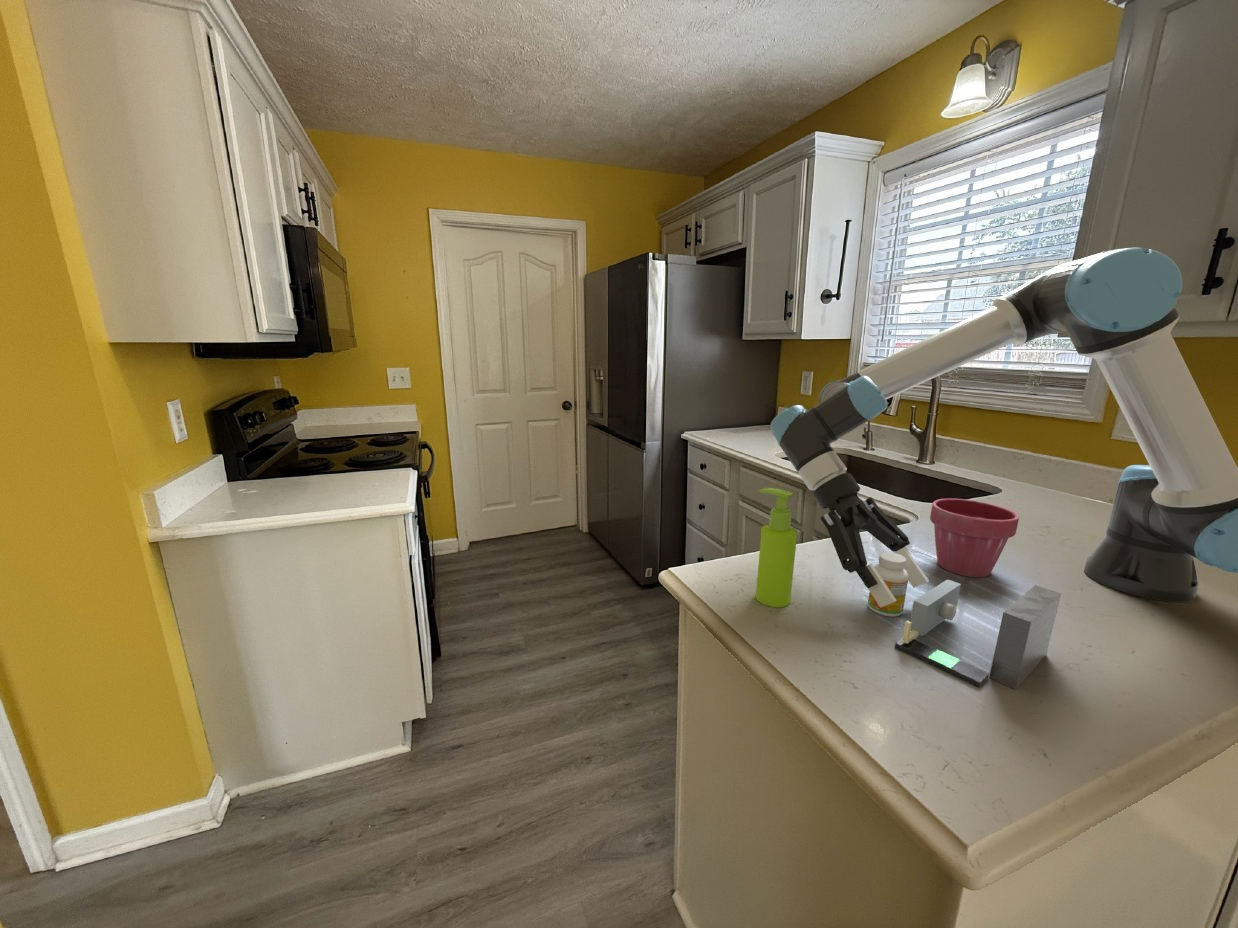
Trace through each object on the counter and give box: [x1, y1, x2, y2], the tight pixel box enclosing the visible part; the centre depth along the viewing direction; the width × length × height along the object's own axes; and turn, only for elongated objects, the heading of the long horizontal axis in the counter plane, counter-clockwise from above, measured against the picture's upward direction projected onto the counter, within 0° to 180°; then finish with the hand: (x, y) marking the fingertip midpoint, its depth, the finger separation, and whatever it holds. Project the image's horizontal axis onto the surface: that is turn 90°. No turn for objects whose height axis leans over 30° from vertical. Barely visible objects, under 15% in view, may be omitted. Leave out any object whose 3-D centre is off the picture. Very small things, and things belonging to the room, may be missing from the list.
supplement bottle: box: [867, 551, 909, 618], centre depth 85 cm, size 5×5×10 cm
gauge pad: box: [901, 579, 962, 644], centre depth 78 cm, size 4×16×5 cm, turn 126°
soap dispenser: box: [755, 487, 798, 608], centre depth 87 cm, size 6×7×20 cm
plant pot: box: [929, 498, 1020, 578], centre depth 101 cm, size 14×14×13 cm
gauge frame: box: [894, 584, 1062, 690], centre depth 73 cm, size 14×16×10 cm
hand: (905, 593), depth 83 cm, fingers open, 11 cm apart
